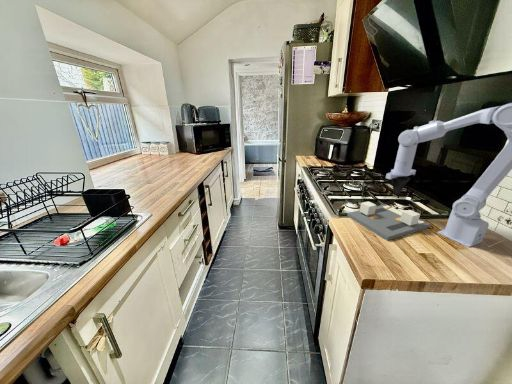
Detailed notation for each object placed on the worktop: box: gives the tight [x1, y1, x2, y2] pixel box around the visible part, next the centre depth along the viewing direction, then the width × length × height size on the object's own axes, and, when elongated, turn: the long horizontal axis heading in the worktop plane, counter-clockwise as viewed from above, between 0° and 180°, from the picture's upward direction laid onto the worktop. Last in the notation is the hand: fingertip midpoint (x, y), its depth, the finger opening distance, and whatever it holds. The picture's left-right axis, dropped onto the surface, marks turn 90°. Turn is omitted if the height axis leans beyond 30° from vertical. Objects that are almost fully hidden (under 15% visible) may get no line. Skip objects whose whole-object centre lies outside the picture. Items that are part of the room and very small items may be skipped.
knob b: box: [359, 201, 377, 216], centre depth 89 cm, size 4×4×4 cm
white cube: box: [400, 209, 421, 226], centre depth 81 cm, size 4×4×4 cm
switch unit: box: [346, 204, 431, 241], centre depth 86 cm, size 19×22×2 cm
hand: (396, 192), depth 89 cm, fingers closed
